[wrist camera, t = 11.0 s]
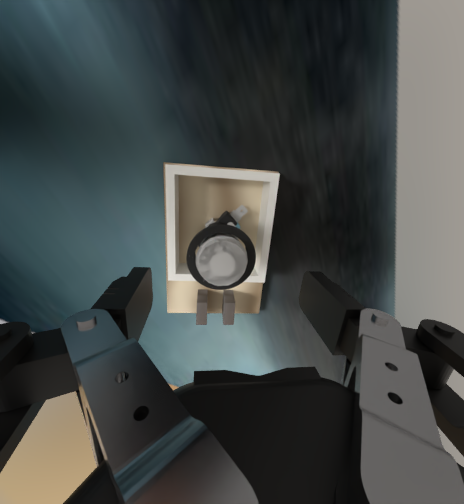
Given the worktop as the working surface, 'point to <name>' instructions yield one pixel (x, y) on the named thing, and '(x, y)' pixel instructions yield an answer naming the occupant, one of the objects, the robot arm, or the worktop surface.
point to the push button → (222, 253)
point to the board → (190, 223)
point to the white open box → (173, 171)
